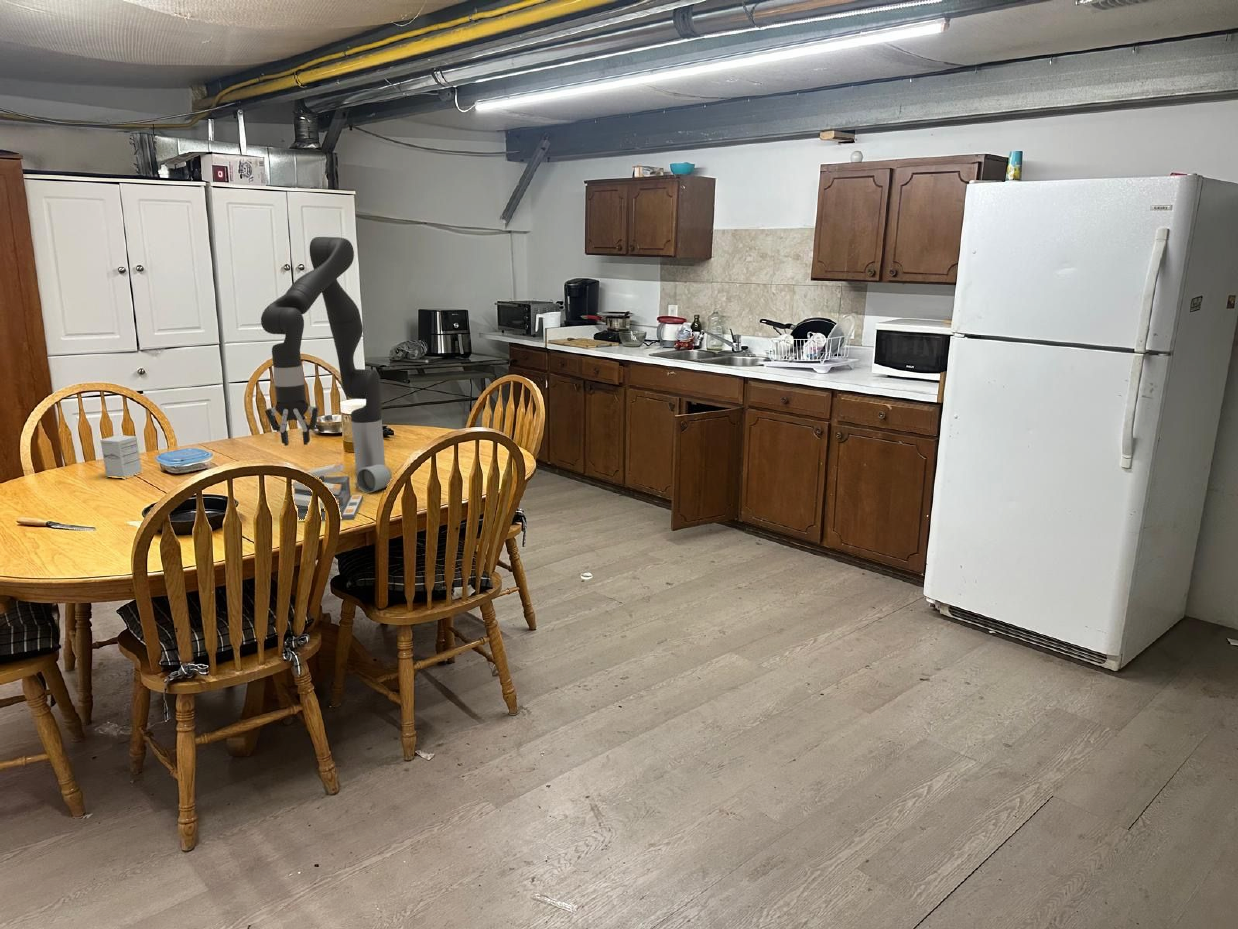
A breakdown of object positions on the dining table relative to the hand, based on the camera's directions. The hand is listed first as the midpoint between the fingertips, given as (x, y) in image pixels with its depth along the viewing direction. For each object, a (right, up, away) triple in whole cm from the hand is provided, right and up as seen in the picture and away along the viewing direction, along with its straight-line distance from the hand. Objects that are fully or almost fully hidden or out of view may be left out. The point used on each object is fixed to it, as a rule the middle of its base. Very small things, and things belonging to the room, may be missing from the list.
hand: (296, 444), depth 233 cm
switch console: (+6, -18, +6) cm, 20 cm away
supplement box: (-69, -9, +39) cm, 80 cm away
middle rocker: (+4, -12, +4) cm, 13 cm away
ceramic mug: (+13, -13, +25) cm, 31 cm away
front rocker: (+5, -16, -1) cm, 17 cm away
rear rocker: (+4, -8, +9) cm, 12 cm away
